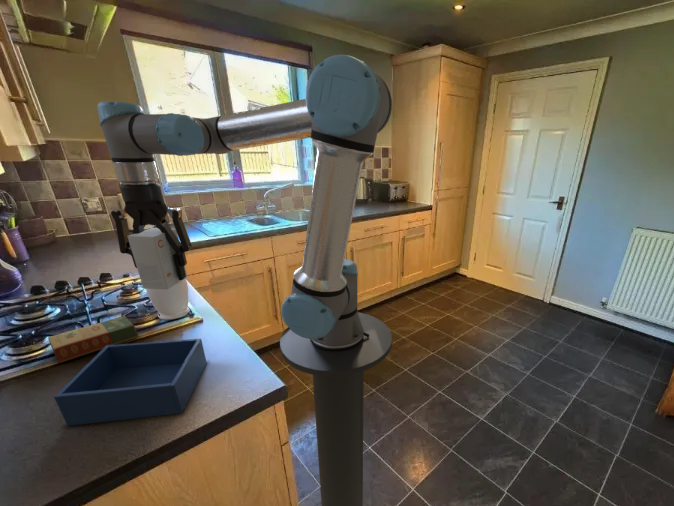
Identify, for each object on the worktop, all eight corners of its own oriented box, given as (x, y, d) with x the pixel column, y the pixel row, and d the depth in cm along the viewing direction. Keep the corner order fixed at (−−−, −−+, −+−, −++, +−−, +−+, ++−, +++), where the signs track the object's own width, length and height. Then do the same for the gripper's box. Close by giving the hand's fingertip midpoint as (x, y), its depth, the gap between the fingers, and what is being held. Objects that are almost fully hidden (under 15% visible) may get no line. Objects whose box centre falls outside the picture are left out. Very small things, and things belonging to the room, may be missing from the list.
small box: (164, 276, 85) (151, 227, 80) (188, 277, 85) (177, 228, 80) (141, 288, 78) (126, 235, 73) (167, 290, 78) (153, 236, 72)
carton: (53, 350, 82) (46, 336, 80) (129, 327, 94) (125, 313, 92) (59, 364, 77) (52, 349, 76) (138, 337, 89) (134, 323, 87)
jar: (145, 318, 98) (131, 271, 92) (175, 304, 107) (164, 260, 101) (172, 324, 95) (160, 277, 89) (201, 309, 104) (191, 265, 98)
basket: (206, 362, 80) (201, 338, 77) (182, 413, 65) (174, 385, 62) (115, 370, 76) (106, 345, 73) (67, 426, 61) (53, 397, 58)
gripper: (194, 180, 77) (213, 271, 86) (97, 180, 73) (127, 275, 83) (183, 184, 70) (204, 282, 80) (75, 184, 67) (111, 287, 76)
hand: (165, 278), depth 81 cm, fingers closed on small box, 7 cm apart
